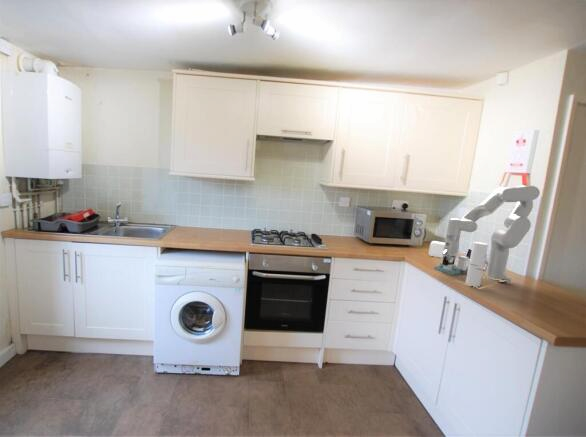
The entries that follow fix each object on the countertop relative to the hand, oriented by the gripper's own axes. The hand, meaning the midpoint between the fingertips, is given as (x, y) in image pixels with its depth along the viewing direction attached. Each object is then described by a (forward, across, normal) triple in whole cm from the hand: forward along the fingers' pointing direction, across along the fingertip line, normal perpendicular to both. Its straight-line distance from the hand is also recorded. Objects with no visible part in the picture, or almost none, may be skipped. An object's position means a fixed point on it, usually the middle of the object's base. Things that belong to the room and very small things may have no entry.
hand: (448, 264), depth 193 cm
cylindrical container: (+6, -9, -20) cm, 23 cm away
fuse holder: (+5, +9, 0) cm, 10 cm away
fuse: (+4, +9, -4) cm, 11 cm away
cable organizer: (+6, +34, +25) cm, 43 cm away
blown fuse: (+5, 0, 0) cm, 5 cm away
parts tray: (+5, 0, 0) cm, 5 cm away
